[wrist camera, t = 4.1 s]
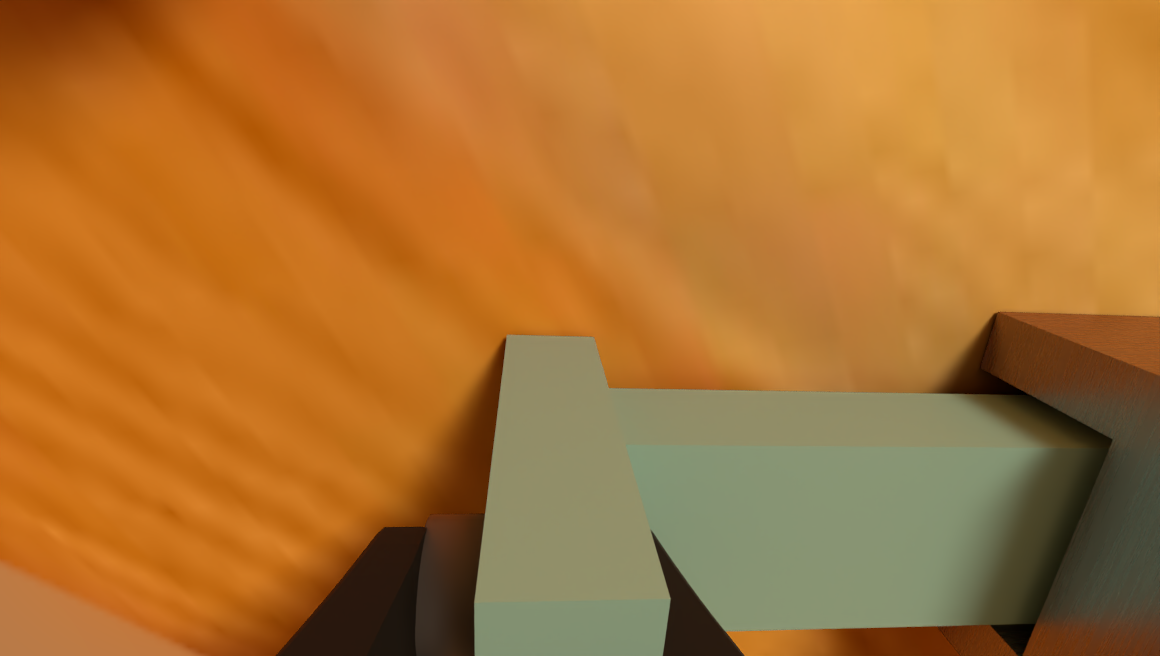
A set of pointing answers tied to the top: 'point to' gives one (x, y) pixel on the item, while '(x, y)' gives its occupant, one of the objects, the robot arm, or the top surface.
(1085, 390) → the block
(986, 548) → the handle
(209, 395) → the top surface
